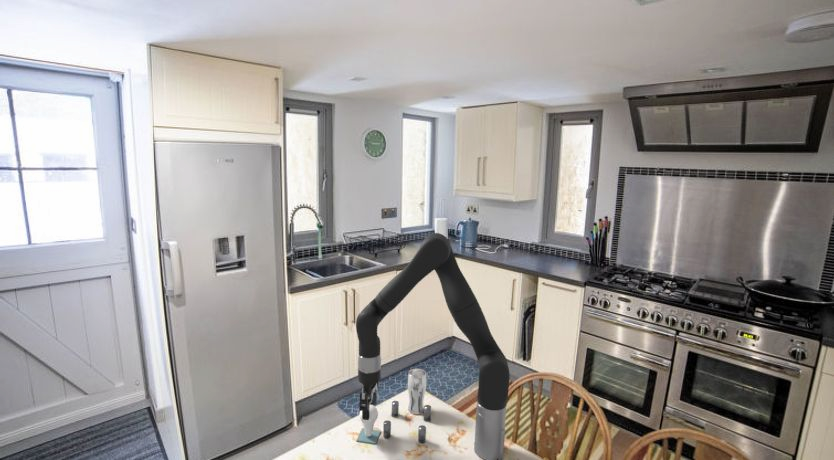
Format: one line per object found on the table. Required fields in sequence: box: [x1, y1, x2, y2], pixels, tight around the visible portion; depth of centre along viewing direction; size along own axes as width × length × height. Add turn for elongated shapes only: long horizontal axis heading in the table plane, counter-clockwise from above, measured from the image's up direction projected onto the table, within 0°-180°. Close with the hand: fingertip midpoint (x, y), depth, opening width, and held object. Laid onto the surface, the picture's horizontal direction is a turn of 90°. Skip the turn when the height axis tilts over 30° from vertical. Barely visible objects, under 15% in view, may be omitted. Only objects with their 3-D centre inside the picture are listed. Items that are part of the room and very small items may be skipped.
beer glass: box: [407, 368, 427, 415], centre depth 152 cm, size 7×7×15 cm
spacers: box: [382, 400, 432, 445], centre depth 142 cm, size 14×14×5 cm
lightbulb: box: [359, 404, 379, 437], centre depth 136 cm, size 6×6×11 cm
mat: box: [356, 427, 381, 445], centre depth 137 cm, size 6×6×1 cm
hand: (369, 411), depth 136 cm, fingers open, 8 cm apart
